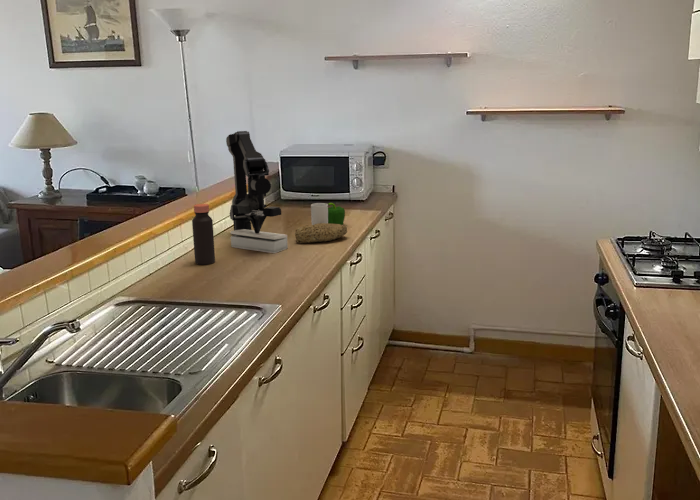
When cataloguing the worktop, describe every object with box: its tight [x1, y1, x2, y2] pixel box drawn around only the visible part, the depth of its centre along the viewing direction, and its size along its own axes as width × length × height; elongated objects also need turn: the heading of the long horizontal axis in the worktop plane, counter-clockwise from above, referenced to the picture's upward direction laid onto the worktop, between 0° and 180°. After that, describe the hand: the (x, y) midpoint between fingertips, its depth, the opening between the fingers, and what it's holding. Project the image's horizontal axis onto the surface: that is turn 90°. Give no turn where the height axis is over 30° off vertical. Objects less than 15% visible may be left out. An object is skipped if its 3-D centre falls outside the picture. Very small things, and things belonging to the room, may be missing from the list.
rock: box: [294, 223, 348, 244], centre depth 267 cm, size 13×8×20 cm
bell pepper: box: [327, 202, 346, 225], centre depth 290 cm, size 8×8×10 cm
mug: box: [310, 202, 329, 225], centre depth 277 cm, size 10×7×12 cm, turn 166°
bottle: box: [191, 203, 216, 266], centre depth 236 cm, size 7×7×20 cm
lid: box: [230, 229, 288, 240], centre depth 257 cm, size 20×8×1 cm, turn 60°
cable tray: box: [230, 234, 289, 254], centre depth 257 cm, size 20×8×4 cm, turn 60°
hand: (257, 233), depth 255 cm, fingers closed, pressing on lid
